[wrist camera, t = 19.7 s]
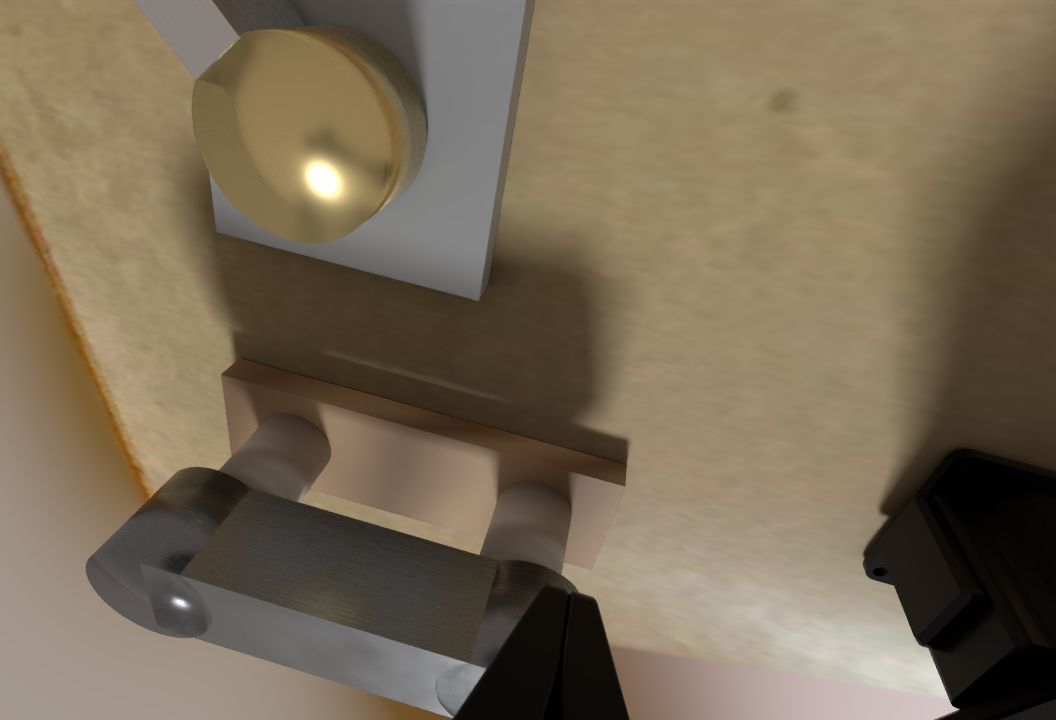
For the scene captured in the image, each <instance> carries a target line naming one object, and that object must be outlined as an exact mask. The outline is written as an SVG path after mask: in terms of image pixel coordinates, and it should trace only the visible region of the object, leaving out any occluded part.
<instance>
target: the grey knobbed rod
mask: <svg viewBox="0 0 1056 720" xmlns="http://www.w3.org/2000/svg"><path fill="white" fill-rule="evenodd" d="M86 574H87V577H88V579H89V582H90V583H91V585H92V587H93V588H94V590H95V591H96V592H97V594H98V595H99V596H100V597H101V598H102V599H103V600H104V601H105V602H106V603H107V604H108V605H109V606H110V607H112V608H113V609H114V610H115V611H117V612H118V613H119V614H121V615H122V616H124V617H126V618H127V619H129V620H130V621H132V622H134V623H136V624H138V625H140V626H142V627H144V628H146V629H149V630H151V631H154V632H157V633H160V634H163V635H167V636H172V637H178V638H192V637H193V638H196V639H200V640H203V641H206V642H209V643H213V644H216V645H219V646H222V647H225V648H229V649H232V650H235V651H238V652H241V653H245V654H248V655H251V656H254V657H258V658H261V659H264V660H267V661H271V662H274V663H277V664H280V665H283V666H287V667H290V668H293V669H296V670H300V671H303V672H306V673H309V674H312V675H316V676H319V677H322V678H325V679H328V680H332V681H335V682H338V683H341V684H345V685H348V686H351V687H354V688H357V689H361V690H364V691H367V692H370V693H374V694H377V695H380V696H383V697H387V698H390V699H393V700H396V701H399V702H403V703H406V704H409V705H412V706H416V707H419V708H422V709H425V710H429V711H432V712H435V713H438V714H441V715H444V716H448V717H451V718H453V717H454V716H455V715H456V713H457V712H458V710H459V709H460V707H461V706H462V704H463V703H464V701H465V700H466V698H467V697H468V695H469V694H470V692H471V691H472V689H473V688H474V686H475V685H476V683H477V682H478V680H479V679H480V677H481V676H482V675H483V673H484V672H485V670H486V669H487V667H488V666H489V664H490V663H491V661H492V660H493V658H494V657H495V655H496V654H497V652H498V651H499V649H500V648H501V646H502V645H503V643H504V642H505V640H506V639H507V637H508V636H509V634H510V633H511V632H512V630H513V629H514V627H515V626H516V624H517V623H518V621H519V620H520V618H521V617H522V615H523V614H524V612H525V611H526V609H527V608H528V606H529V605H530V603H531V602H532V600H533V599H534V597H535V596H536V594H537V593H538V591H539V590H540V589H541V587H542V586H543V585H544V584H546V583H549V584H552V585H555V586H559V587H562V588H565V589H567V590H568V592H569V594H570V593H571V592H573V591H574V592H578V593H579V591H578V590H577V589H576V587H575V586H574V585H573V584H572V583H571V582H570V581H569V580H567V579H566V578H565V577H564V576H562V575H561V574H559V573H557V572H556V571H554V570H552V569H550V568H547V567H545V566H542V565H539V564H536V563H532V562H527V561H521V560H503V561H497V560H494V559H490V558H487V557H484V556H480V555H477V554H473V553H470V552H466V551H463V550H460V549H456V548H453V547H449V546H446V545H443V544H439V543H436V542H432V541H429V540H425V539H422V538H419V537H415V536H412V535H408V534H405V533H402V532H398V531H395V530H391V529H388V528H384V527H381V526H378V525H374V524H371V523H367V522H364V521H361V520H357V519H354V518H350V517H347V516H343V515H340V514H337V513H333V512H330V511H326V510H323V509H320V508H316V507H313V506H309V505H306V504H303V503H299V502H296V501H292V500H289V499H285V498H282V497H279V496H275V495H272V494H268V493H265V492H262V491H258V490H255V489H251V488H250V487H248V486H247V485H246V484H244V483H243V482H241V481H240V480H238V479H236V478H234V477H232V476H230V475H228V474H226V473H223V472H220V471H217V470H214V469H210V468H203V467H190V468H185V469H182V470H180V471H178V472H177V473H175V474H174V475H173V476H172V477H171V478H170V479H169V480H168V481H167V482H166V483H165V484H164V485H163V486H162V487H161V488H160V489H159V490H158V491H157V492H156V493H155V494H154V495H153V496H152V497H151V498H150V499H149V500H148V501H147V502H146V503H145V504H144V505H143V506H142V507H141V508H140V509H139V510H138V511H137V512H136V513H134V514H133V515H132V516H131V517H130V518H129V519H128V521H126V522H125V523H124V524H123V525H122V526H121V527H120V528H119V529H118V530H117V531H116V532H115V533H114V534H113V535H112V536H111V537H110V538H109V539H108V540H107V541H106V542H105V543H104V544H103V545H102V546H101V547H100V548H99V549H98V550H97V551H96V552H95V553H94V554H93V555H92V556H91V557H90V558H89V559H88V561H87V563H86Z"/></svg>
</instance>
